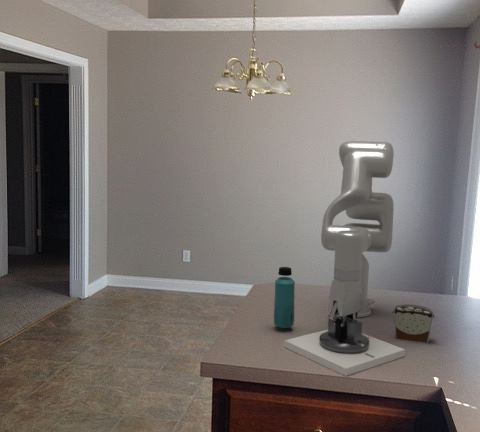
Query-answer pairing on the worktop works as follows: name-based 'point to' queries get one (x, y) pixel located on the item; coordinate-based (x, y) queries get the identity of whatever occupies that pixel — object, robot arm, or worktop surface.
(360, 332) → the dial
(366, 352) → the dial plate
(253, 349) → the worktop surface
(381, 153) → the robot arm
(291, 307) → the beverage bottle
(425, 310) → the food container
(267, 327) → the worktop surface
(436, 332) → the worktop surface
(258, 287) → the worktop surface
